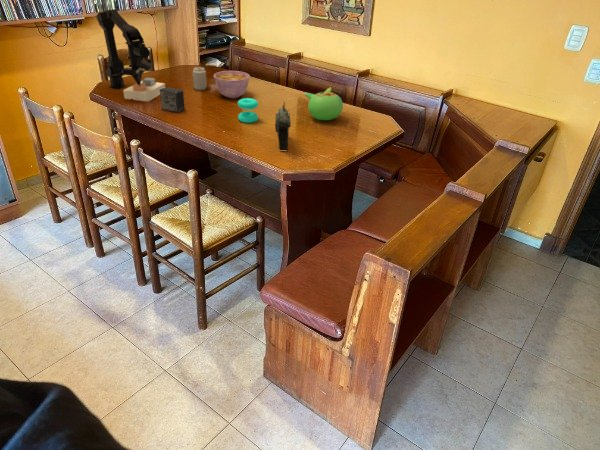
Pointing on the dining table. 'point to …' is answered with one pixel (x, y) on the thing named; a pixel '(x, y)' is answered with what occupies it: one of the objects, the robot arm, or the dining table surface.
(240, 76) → the bowl of food
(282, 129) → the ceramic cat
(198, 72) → the can
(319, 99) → the green rounded body
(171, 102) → the small box
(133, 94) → the console
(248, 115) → the donuts
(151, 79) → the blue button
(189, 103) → the dining table surface
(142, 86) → the orange button
